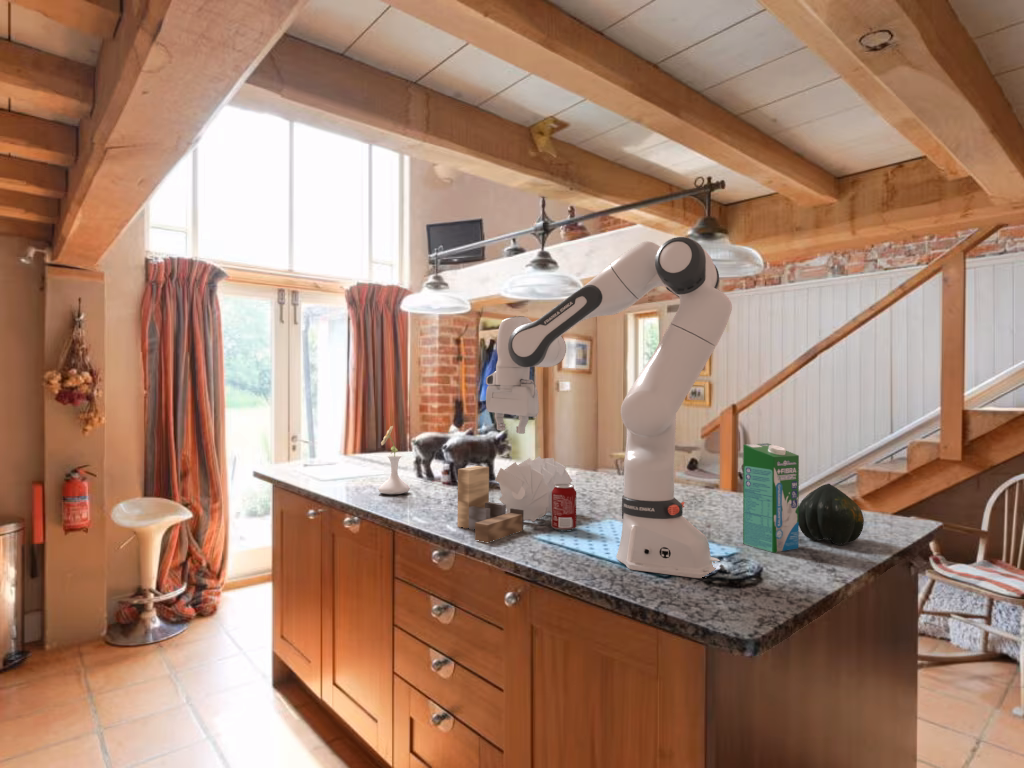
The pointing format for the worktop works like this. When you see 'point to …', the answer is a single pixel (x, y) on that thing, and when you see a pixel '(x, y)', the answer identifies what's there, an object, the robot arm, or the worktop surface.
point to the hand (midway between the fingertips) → (510, 431)
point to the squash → (830, 516)
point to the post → (475, 497)
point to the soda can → (563, 507)
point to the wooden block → (499, 526)
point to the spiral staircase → (531, 486)
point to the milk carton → (770, 497)
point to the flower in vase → (393, 473)
